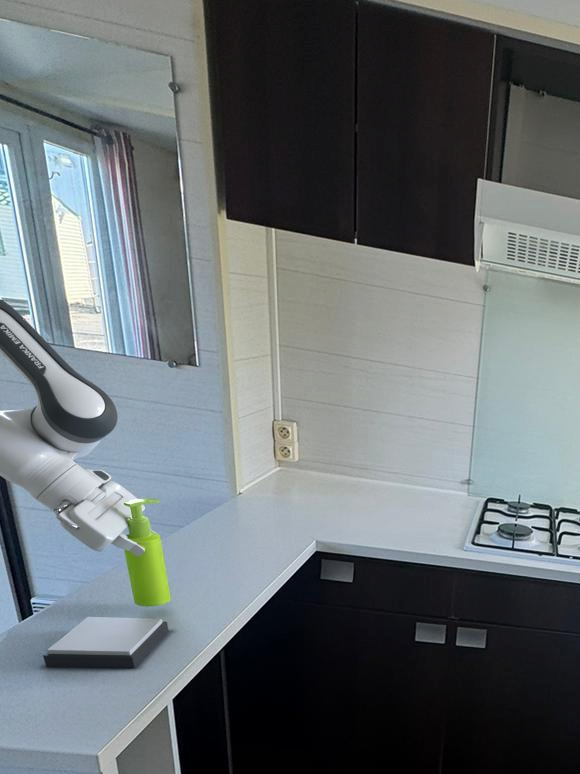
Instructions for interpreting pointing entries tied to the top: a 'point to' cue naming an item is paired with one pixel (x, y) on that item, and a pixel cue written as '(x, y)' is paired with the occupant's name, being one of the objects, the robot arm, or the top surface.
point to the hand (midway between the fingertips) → (149, 545)
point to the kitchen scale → (107, 643)
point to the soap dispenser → (146, 559)
